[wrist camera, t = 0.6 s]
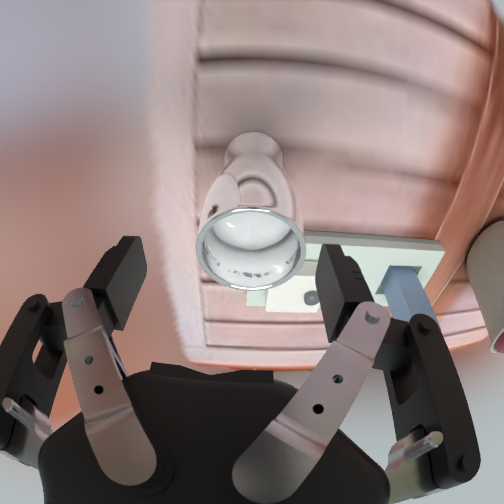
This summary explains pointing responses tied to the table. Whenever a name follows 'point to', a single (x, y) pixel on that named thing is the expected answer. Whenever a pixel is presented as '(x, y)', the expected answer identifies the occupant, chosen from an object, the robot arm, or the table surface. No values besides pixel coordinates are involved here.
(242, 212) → the beer glass
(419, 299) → the peg
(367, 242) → the board
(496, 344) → the canister
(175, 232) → the table surface
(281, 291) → the lid
